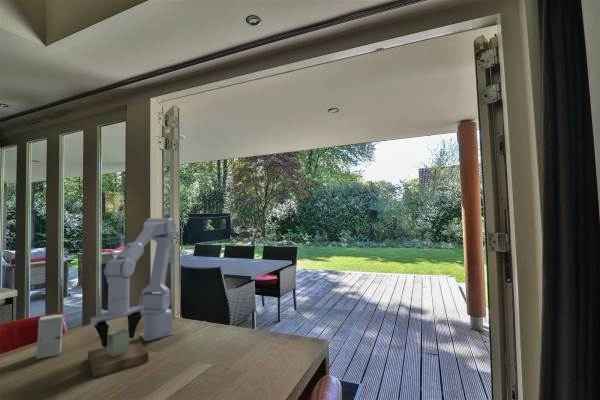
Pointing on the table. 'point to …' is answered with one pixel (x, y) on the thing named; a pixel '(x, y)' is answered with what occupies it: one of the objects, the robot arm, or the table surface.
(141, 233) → the robot arm
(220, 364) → the table surface
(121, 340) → the sage block
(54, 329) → the skincare box
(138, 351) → the walnut base
